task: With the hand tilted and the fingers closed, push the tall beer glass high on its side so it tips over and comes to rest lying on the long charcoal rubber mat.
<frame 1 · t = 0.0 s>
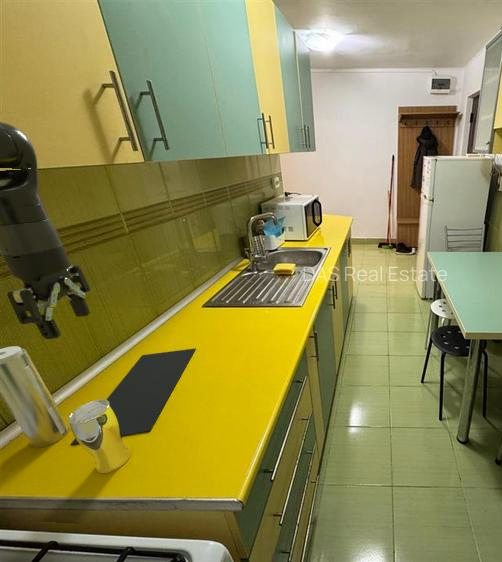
hand: (69, 326, 60), 33 cm above the counter, tool pointing down, fingers open, 8 cm apart
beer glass: (114, 461, 69), on the counter
mat: (145, 387, 90), on the counter
silver metal cylinder: (51, 437, 75), on the counter
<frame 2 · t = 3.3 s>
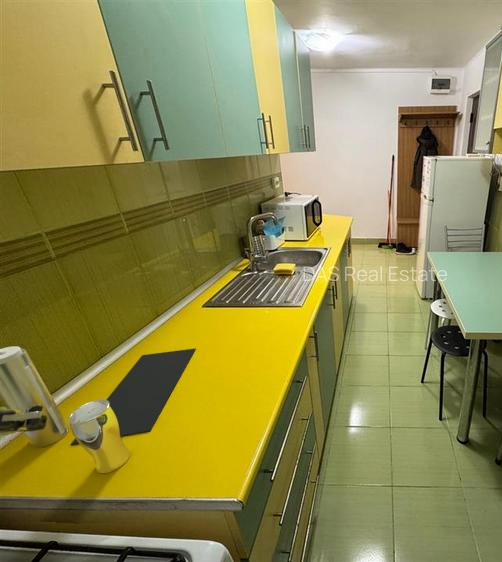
hand: (40, 423, 52), 22 cm above the counter, tool tilted 45°, fingers closed
nothing on the counter moved.
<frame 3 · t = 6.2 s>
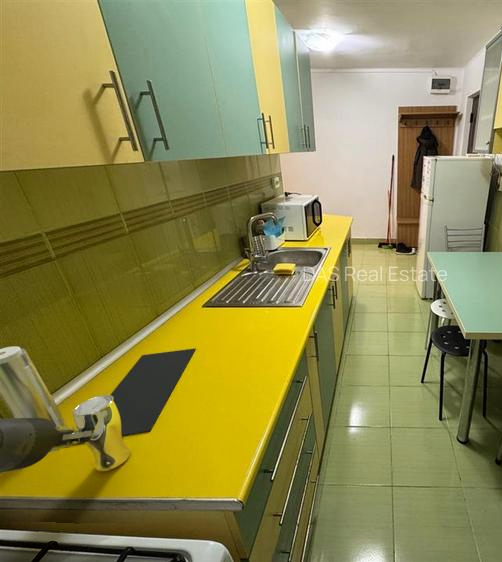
hand: (86, 435, 62), 11 cm above the counter, tool tilted 45°, fingers closed
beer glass: (114, 460, 69), on the counter, touching gripper
everything else where it was.
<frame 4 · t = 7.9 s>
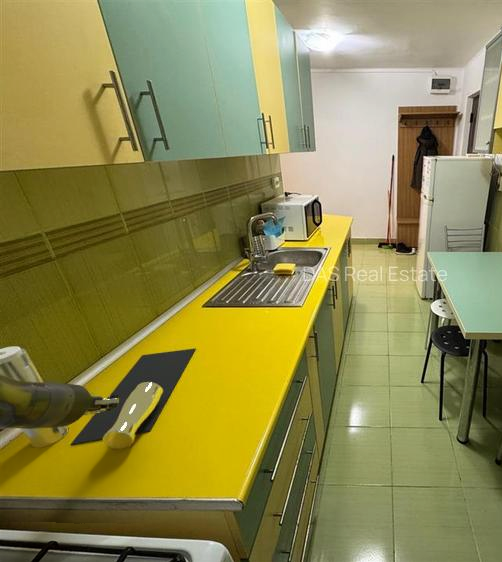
hand: (111, 405, 70), 11 cm above the counter, tool tilted 45°, fingers closed
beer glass: (117, 441, 70), point 3 cm above the counter, touching mat
everything else where it was.
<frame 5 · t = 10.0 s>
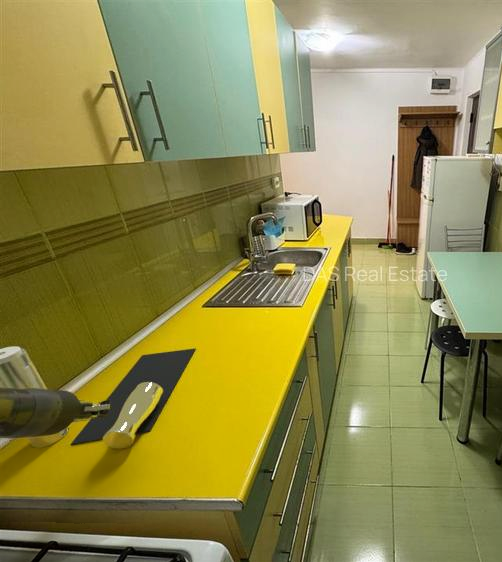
hand: (103, 412, 67), 12 cm above the counter, tool tilted 45°, fingers closed
nothing on the counter moved.
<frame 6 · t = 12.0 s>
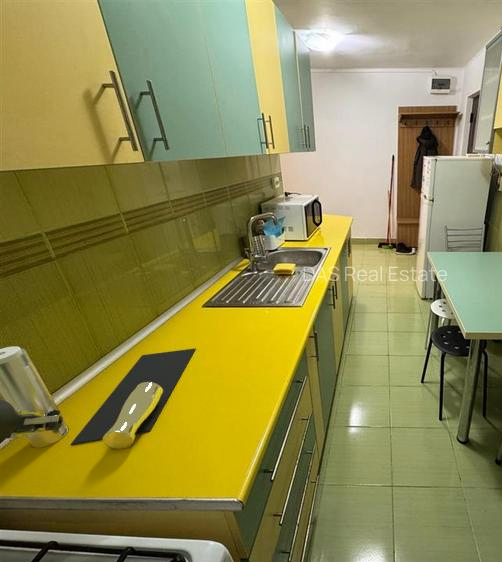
hand: (56, 423, 56), 18 cm above the counter, tool tilted 45°, fingers closed
nothing on the counter moved.
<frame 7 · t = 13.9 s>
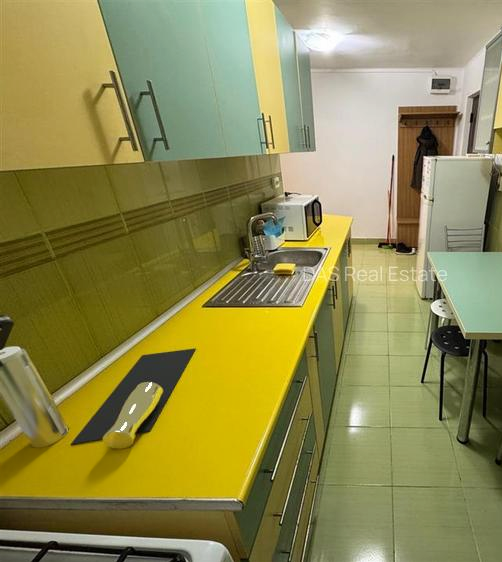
nothing on the counter moved.
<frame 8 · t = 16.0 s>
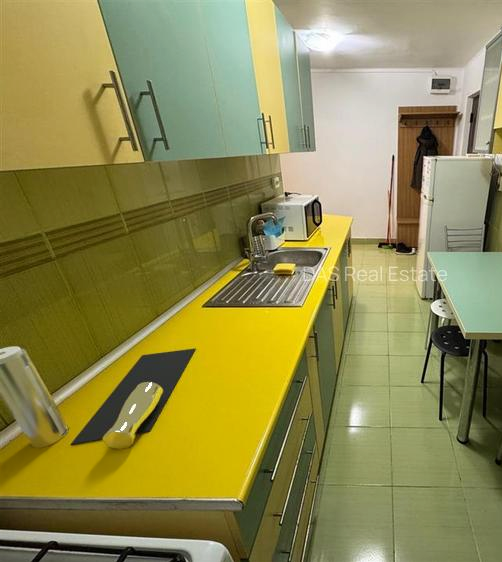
nothing on the counter moved.
at the end: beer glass tilted 85°; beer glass touching mat, counter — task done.
